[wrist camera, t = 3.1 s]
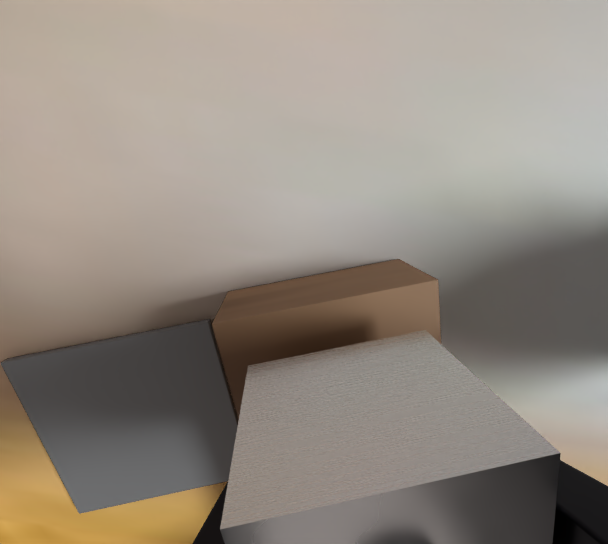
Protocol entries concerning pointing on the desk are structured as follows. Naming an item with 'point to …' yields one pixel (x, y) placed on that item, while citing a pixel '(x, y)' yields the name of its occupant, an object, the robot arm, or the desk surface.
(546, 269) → the desk surface
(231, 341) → the body
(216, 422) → the pad
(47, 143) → the desk surface
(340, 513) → the grey knobbed cube
